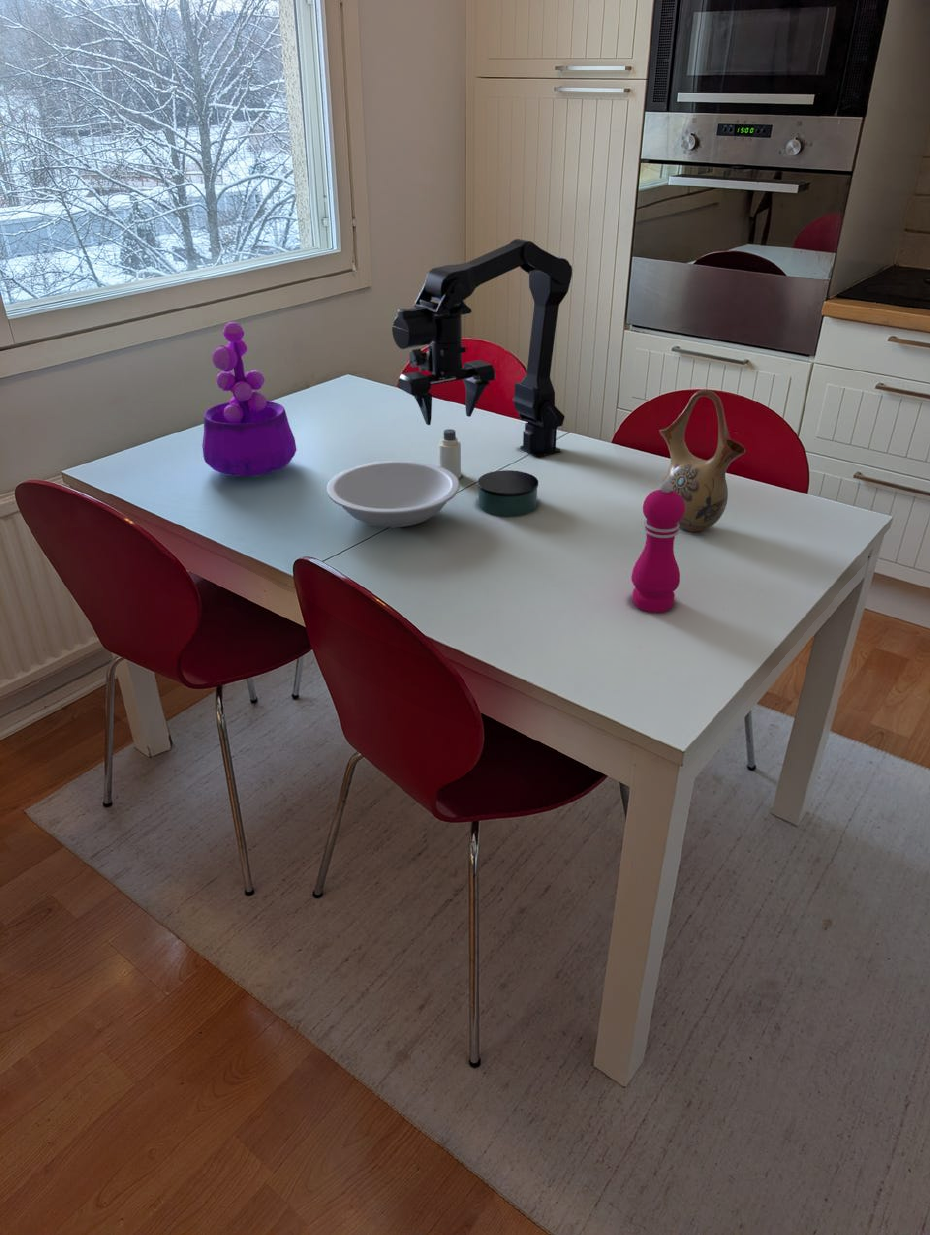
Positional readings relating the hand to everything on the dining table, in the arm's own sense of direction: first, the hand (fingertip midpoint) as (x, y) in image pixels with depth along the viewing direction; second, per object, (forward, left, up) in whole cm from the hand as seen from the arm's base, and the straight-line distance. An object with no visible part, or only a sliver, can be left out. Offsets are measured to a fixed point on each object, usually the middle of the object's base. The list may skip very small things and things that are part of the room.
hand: (448, 420), depth 176 cm
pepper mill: (0, +61, -12) cm, 62 cm away
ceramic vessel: (-24, +44, -12) cm, 52 cm away
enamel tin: (-2, +18, -12) cm, 22 cm away
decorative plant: (+33, -25, -12) cm, 43 cm away
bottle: (0, 0, -12) cm, 12 cm away
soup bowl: (+19, +12, -12) cm, 25 cm away
